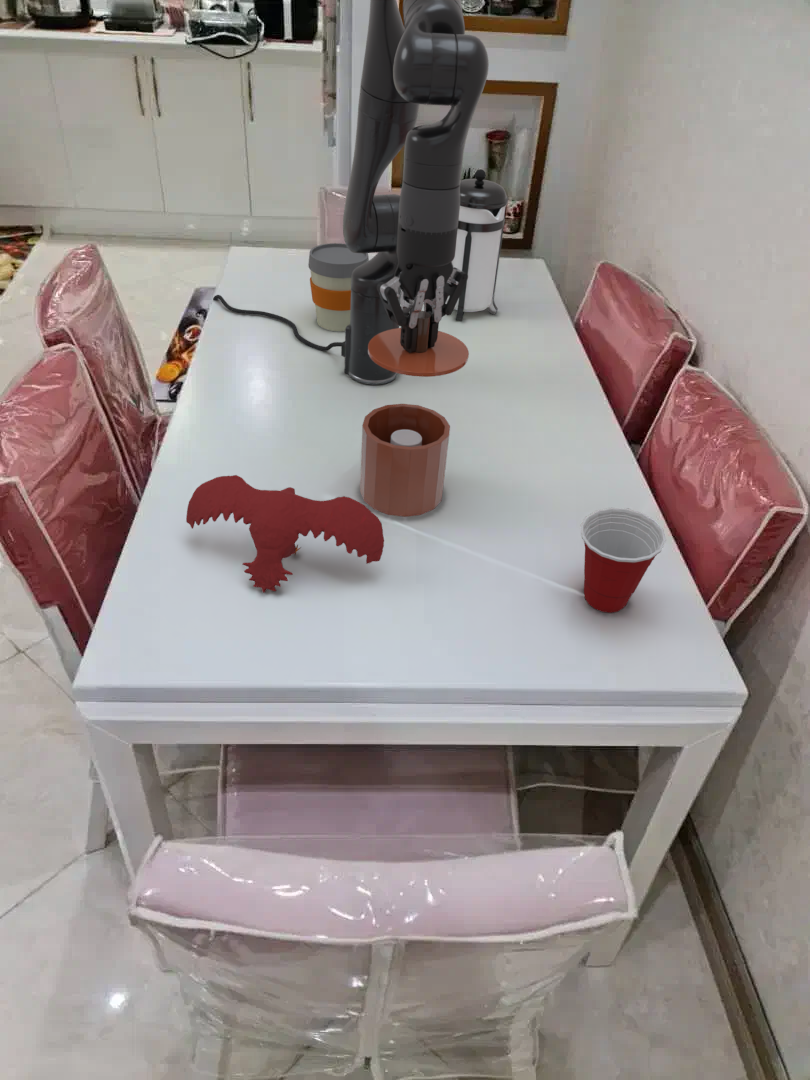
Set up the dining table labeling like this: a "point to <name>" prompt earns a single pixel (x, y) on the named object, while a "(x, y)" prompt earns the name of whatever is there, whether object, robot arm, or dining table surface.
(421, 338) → the lid
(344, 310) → the reusable coffee cup
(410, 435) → the pill bottle
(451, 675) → the dining table surface
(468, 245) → the coffee press
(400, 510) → the pot
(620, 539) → the plastic cup
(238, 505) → the decorative bird sculpture
